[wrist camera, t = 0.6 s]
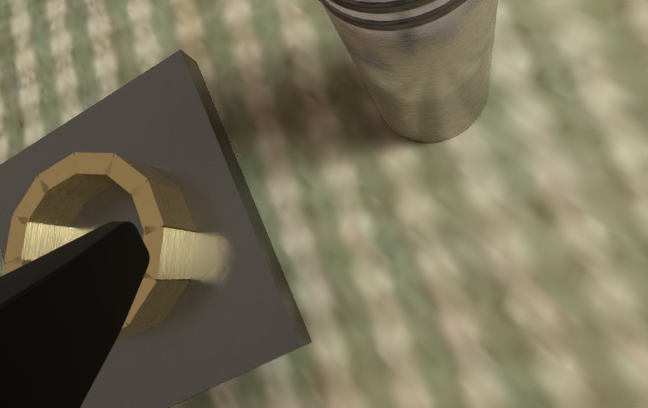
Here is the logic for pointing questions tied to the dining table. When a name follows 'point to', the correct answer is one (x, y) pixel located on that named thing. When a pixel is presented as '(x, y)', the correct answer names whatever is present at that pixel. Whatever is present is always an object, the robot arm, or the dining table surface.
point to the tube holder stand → (159, 236)
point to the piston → (421, 60)
